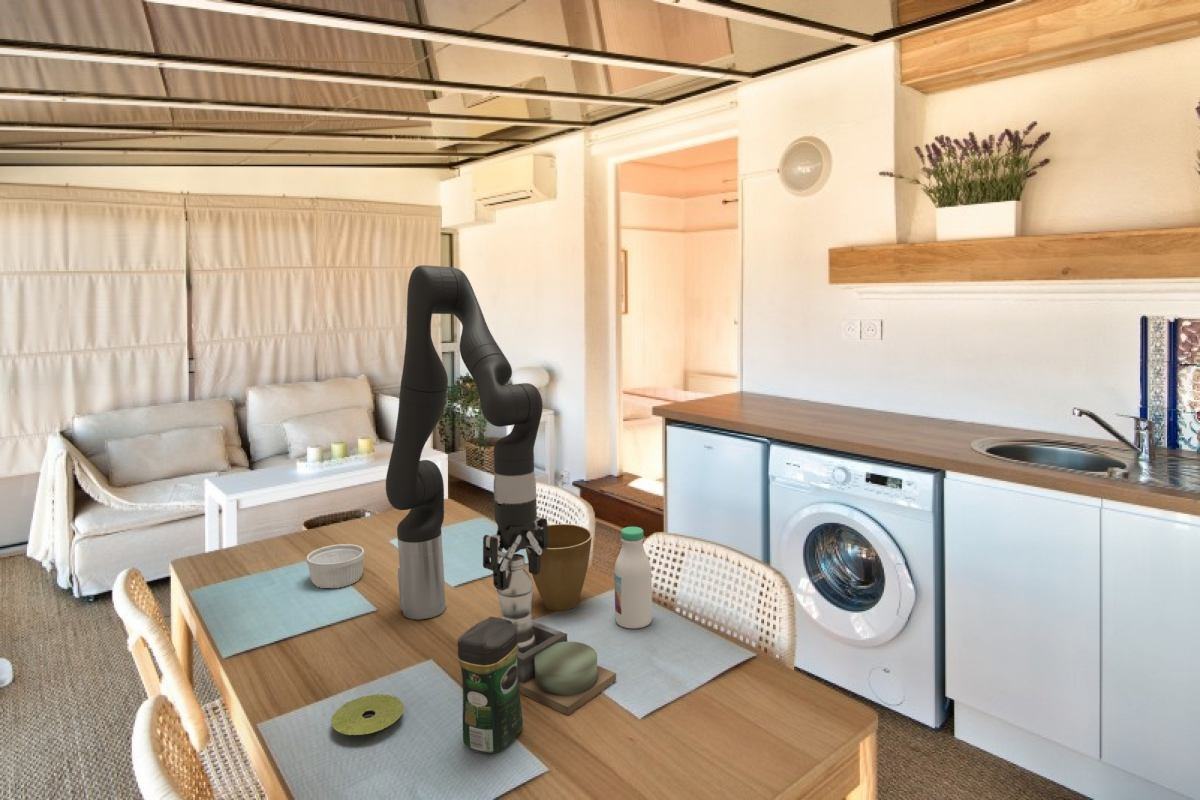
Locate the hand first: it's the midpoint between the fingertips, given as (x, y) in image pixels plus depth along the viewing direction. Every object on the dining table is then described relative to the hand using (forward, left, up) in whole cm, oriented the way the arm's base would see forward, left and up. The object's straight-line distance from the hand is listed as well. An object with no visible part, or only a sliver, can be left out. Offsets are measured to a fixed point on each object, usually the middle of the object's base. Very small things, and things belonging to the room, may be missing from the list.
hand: (517, 581), depth 131 cm
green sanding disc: (-7, -27, -17) cm, 33 cm away
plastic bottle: (0, 0, -16) cm, 16 cm away
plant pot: (-12, +24, -17) cm, 32 cm away
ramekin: (-65, +2, -17) cm, 67 cm away
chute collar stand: (+5, 0, -17) cm, 18 cm away
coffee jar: (+11, -18, -17) cm, 27 cm away
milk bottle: (+6, +27, -17) cm, 33 cm away
